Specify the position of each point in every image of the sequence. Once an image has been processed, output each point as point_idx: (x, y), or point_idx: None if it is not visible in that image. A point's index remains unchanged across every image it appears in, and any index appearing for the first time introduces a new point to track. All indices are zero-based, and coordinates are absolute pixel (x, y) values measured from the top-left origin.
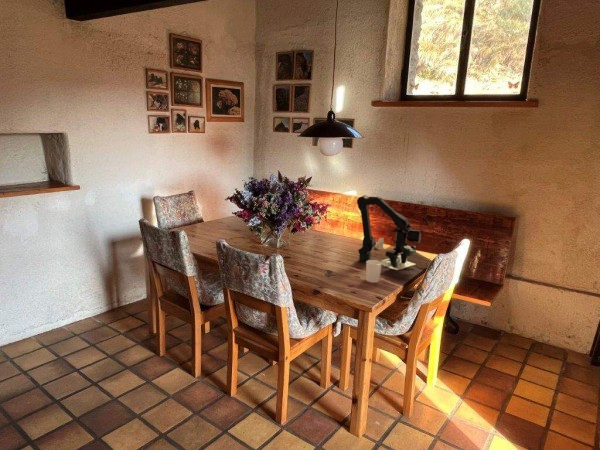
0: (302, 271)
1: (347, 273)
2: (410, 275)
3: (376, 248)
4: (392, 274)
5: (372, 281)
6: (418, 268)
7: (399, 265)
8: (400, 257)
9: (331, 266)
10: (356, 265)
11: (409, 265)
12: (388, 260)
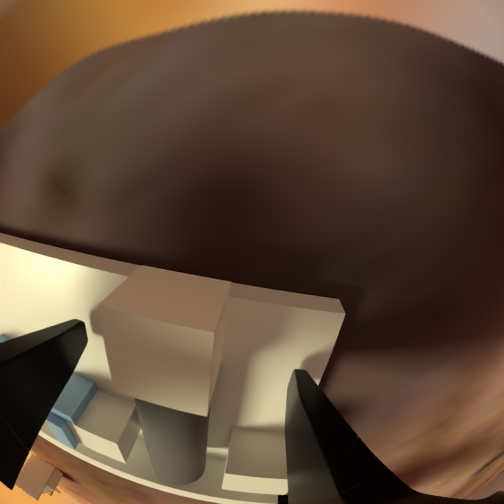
0: (495, 473)
1: (501, 437)
2: (326, 48)
3: (61, 476)
4: (459, 281)
5: None
6: (4, 158)
7: (217, 358)
8: None
9: None
10: None
11: (21, 264)
12: None
